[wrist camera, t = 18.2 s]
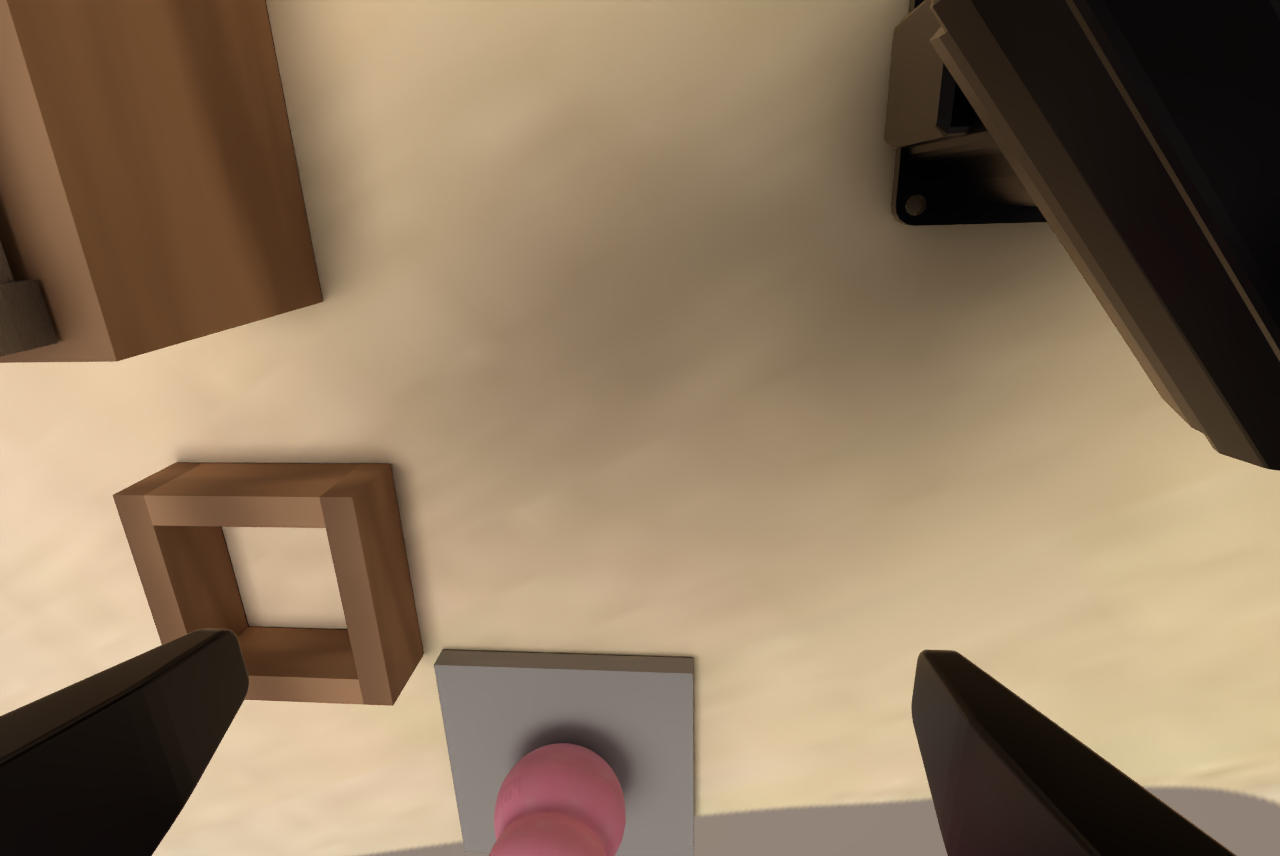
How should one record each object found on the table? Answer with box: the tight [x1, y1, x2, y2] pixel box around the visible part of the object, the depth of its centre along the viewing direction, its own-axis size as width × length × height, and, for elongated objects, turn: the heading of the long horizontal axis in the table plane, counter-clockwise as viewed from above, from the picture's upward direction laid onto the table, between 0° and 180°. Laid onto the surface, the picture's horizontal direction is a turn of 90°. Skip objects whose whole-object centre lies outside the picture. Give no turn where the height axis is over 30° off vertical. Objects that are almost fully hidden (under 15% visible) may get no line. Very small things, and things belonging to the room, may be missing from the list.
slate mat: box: [434, 650, 694, 856], centre depth 24 cm, size 9×9×1 cm
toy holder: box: [0, 0, 423, 705], centre depth 17 cm, size 8×24×7 cm, turn 2°
